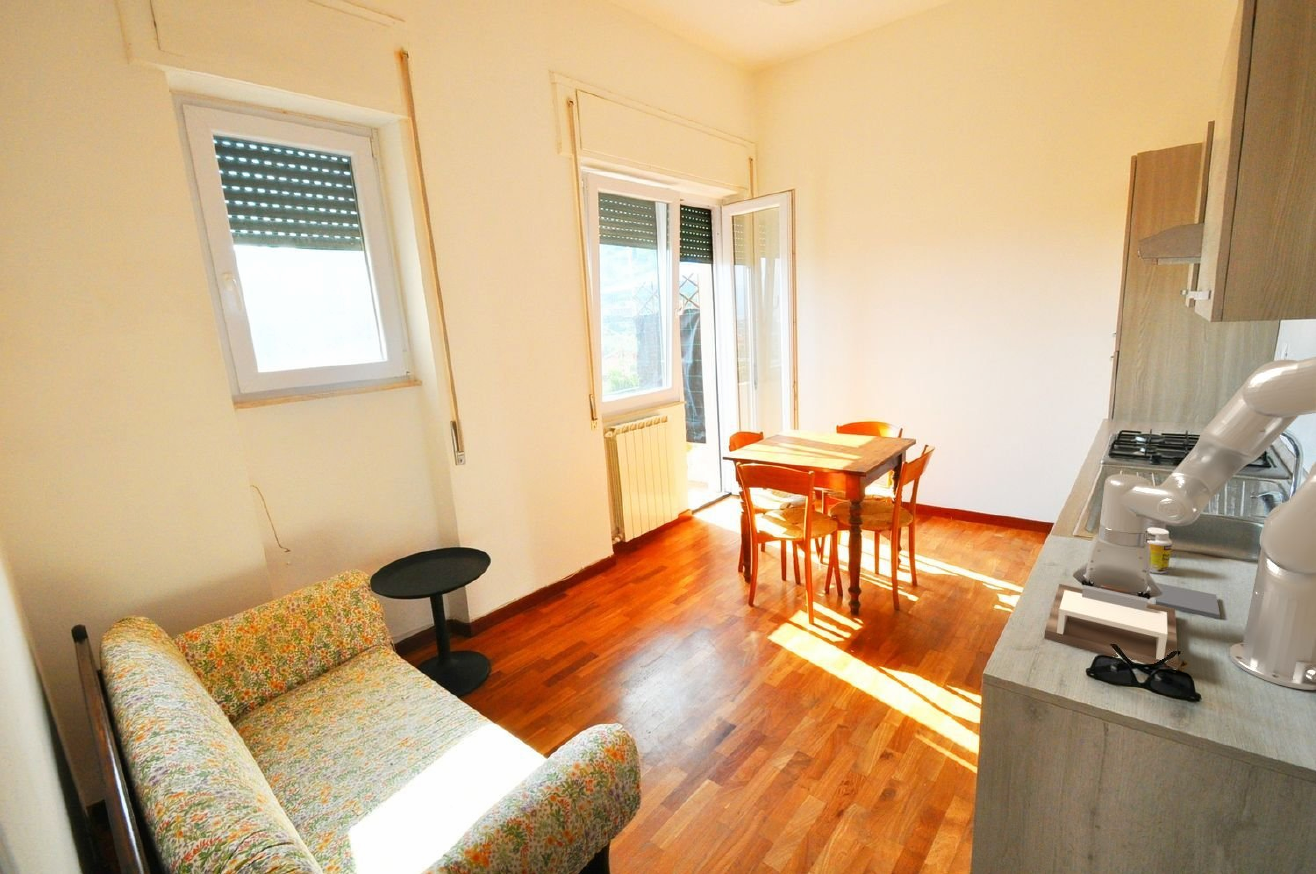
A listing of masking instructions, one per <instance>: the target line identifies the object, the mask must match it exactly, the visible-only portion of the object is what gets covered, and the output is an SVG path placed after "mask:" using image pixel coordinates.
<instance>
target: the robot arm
mask: <svg viewBox="0 0 1316 874" xmlns="http://www.w3.org/2000/svg"><path fill="white" fill-rule="evenodd" d="M1245 380H1246V381H1245V382H1244V383H1243V384H1242V385H1241V387H1240V388H1238V390H1237V391H1236V392H1235V394H1233V396H1232V397H1231V398H1230V399H1229V401H1227V403H1226V404H1225V405H1224V406H1223V408H1222V409H1221V410H1220V411H1219V412H1218V413H1217V414H1216V415H1215V417H1214V418H1213V419H1212V420H1211V421H1210V422H1209V423H1208V425H1207V426H1205V428H1204V429H1203V430H1202V432H1201V433H1200V435H1199V438H1198V440H1197V442H1196V444H1195V445H1194V447H1193V448H1192V449H1191V450H1190V451H1189V453H1188V454H1187V455H1186V457H1184V459H1182V461H1181V462H1180V463H1179V464H1178V466H1176V468H1175V469H1174V470H1173V471H1172V472H1171V473H1170V474H1169V476H1168V477H1167V478H1166V479H1165V480H1164V481H1163V482H1162V483H1161V484H1160V485H1153V483H1152V482H1151V480H1149V479H1147V478H1146V477H1143V476H1140V475H1135V474H1127V473H1117V474H1116V473H1115V474H1112V475H1109V476H1107V478H1106V479H1105V481H1104V486H1103V495H1102V502H1101V511H1100V520H1099V528H1098V529H1099V530H1098V533H1096V534H1094V536H1093V537H1092V540H1091V544H1090V547H1089V553H1088V557H1087V563H1085V564H1084V565H1082V566H1080V567H1079V568H1077V570H1074V571H1073V572H1072V573H1073V574H1072V578H1073V579H1075V580H1076V581H1077V582H1079V583H1080V584H1081V585H1082V586H1083V585H1086V586H1091V587H1096V588H1100V587H1101V585H1105V586H1109V587H1114V588H1119V589H1124V590H1129V592H1130V595H1133V596H1138V597H1143V598H1147V599H1148V600H1150V599H1153V598H1156V596H1160V595H1162V589H1161V588H1160V587H1159V586H1158V585H1157V583H1158V582H1156V581H1155V580H1154V578H1153V577H1152V576H1151V575H1150V574H1151V572H1150V563H1151V551H1150V544H1149V543H1148V542H1147V541H1150V540H1151V541H1155V539H1156V534H1151V533H1149V531H1147V526H1148V519H1150V520H1153V521H1156V522H1159V523H1163V524H1166V526H1167V525H1168V526H1172V527H1184V526H1189V525H1190V524H1192V523H1194V522H1195V521H1196V520H1198V519H1199V517H1200V515H1202V512H1203V511H1204V509H1205V508H1206V507H1207V505H1208V504H1209V503H1210V502H1211V501H1212V500H1213V498H1214V497H1216V495H1217V494H1218V493H1219V492H1220V491H1221V489H1223V487H1224V486H1226V484H1227V483H1228V482H1229V481H1230V480H1231V479H1232V478H1233V477H1234V476H1235V475H1236V474H1237V473H1238V472H1239V471H1241V469H1243V468H1244V467H1245V466H1247V465H1249V464H1251V463H1253V462H1255V461H1256V460H1257V459H1258V458H1260V457H1261V456H1262V455H1263V454H1264V453H1265V451H1267V450H1269V448H1270V446H1271V445H1272V444H1274V442H1276V440H1277V439H1278V438H1279V437H1281V435H1282V434H1283V433H1284V432H1285V431H1286V430H1287V429H1288V428H1289V427H1290V426H1291V424H1293V422H1294V421H1296V420H1297V418H1298V417H1299V416H1305V415H1311V414H1316V356H1314V357H1309V358H1305V359H1301V360H1294V359H1277V360H1273V361H1270V362H1266V363H1265V364H1263V365H1261V366H1260V367H1258V368H1257V369H1256V370H1255V371H1254V372H1252V373H1251V375H1249V377H1247V379H1245ZM1259 545H1260V546H1259V547H1260V548H1261V549H1260V553H1259V558H1258V563H1257V568H1256V572H1255V578H1254V584H1253V589H1252V594H1251V598H1250V599H1251V600H1250V605H1249V608H1248V609H1249V610H1248V611H1249V612H1248V616H1247V621H1246V625H1245V626H1246V627H1245V630H1244V631H1245V632H1244V637H1243V642H1238V643H1234V644H1233V645H1231V646H1230V647H1229V649H1228V650H1229V651H1228V657H1229V658H1230V660H1231V661H1232V662H1233V664H1234V665H1236V666H1238V667H1239V668H1240V669H1242V670H1243V671H1245V672H1247V673H1249V674H1251V675H1252V676H1255V677H1256V678H1259V679H1262V680H1264V681H1267V682H1270V683H1272V684H1276V685H1279V686H1283V687H1287V688H1292V689H1297V690H1298V689H1299V690H1304V691H1307V690H1308V691H1316V461H1315V462H1314V463H1313V465H1312V466H1311V467H1310V470H1309V472H1308V474H1307V477H1306V478H1305V480H1304V481H1303V482H1302V484H1301V485H1300V486H1299V487H1298V489H1297V490H1296V491H1295V492H1294V493H1293V494H1292V495H1291V497H1290V498H1289V499H1288V500H1286V501H1283V502H1282V503H1279V504H1277V505H1276V506H1275V507H1274V508H1272V510H1271V511H1270V512H1268V514H1267V516H1266V518H1265V521H1264V522H1263V526H1262V529H1261V531H1260V535H1259ZM1148 588H1149V589H1148Z"/></svg>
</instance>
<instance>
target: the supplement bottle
mask: <svg viewBox="0 0 1316 874" xmlns="http://www.w3.org/2000/svg"><path fill="white" fill-rule="evenodd" d="M1147 531H1149V533H1151V534H1156V539H1155V541H1151V540H1150V541H1147V542H1148V543H1149V544H1150V551H1151V563H1150V574H1151V573H1153V574H1166V573H1167V572H1168V570H1169V565H1170V558H1171V552H1172V546H1173V540H1171V539H1170V538H1169V537H1170V536H1169V535H1170V532H1169V530H1168V529H1166V528H1165V529H1161V528H1148V530H1147Z"/></svg>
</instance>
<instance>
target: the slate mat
mask: <svg viewBox="0 0 1316 874" xmlns="http://www.w3.org/2000/svg"><path fill="white" fill-rule="evenodd" d="M1156 583H1157V585H1158V586H1159V587H1160V588H1161V589H1162V595H1160V596H1156V597H1155V605H1160V606H1164V607H1169V608H1174V609H1175V611H1180V612H1184V613H1189V614H1194V615H1198V616H1203V617H1208V618H1213V619H1218V620H1220V616H1221V615H1220V609H1219V603H1218V597H1217V594H1214V593H1211V592H1205V591H1200V590H1194V589H1190V588H1185V587H1179V586H1174V585H1171V584H1170V585H1169V584H1165V583H1159V582H1156Z"/></svg>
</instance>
